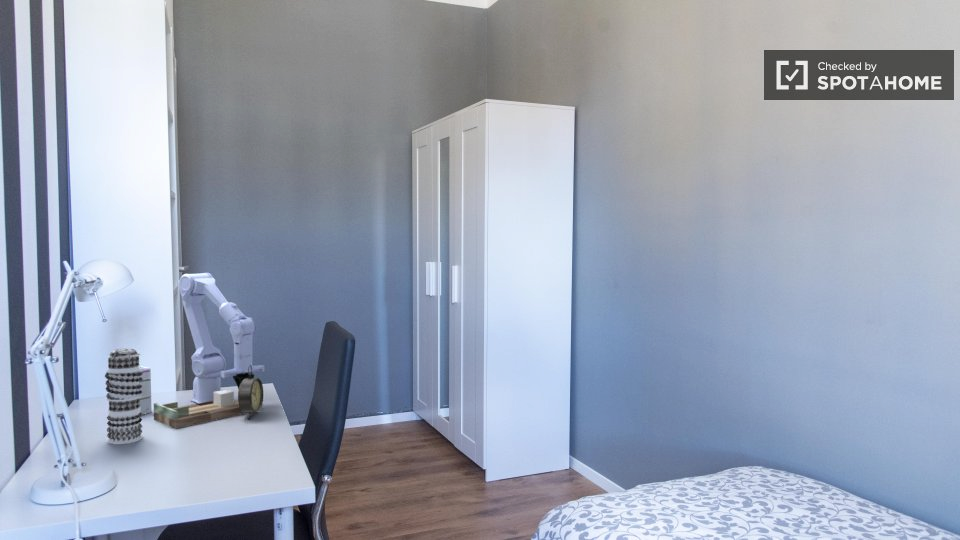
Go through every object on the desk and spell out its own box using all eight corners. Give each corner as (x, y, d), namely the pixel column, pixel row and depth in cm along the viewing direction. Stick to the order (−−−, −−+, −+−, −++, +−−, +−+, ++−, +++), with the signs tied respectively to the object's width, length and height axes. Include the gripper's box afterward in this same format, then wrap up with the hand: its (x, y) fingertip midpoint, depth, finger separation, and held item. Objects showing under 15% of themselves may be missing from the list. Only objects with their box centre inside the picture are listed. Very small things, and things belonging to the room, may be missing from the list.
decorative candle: (104, 446, 176) (102, 353, 175) (107, 436, 185) (106, 348, 183) (142, 442, 180) (141, 351, 179) (144, 433, 188) (143, 346, 187)
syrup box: (152, 412, 210) (151, 367, 209) (134, 416, 205) (133, 370, 204) (142, 409, 213) (141, 365, 212) (124, 413, 208) (123, 368, 207)
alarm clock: (252, 420, 202) (252, 368, 201) (234, 420, 202) (234, 368, 201) (264, 411, 213) (264, 361, 212) (248, 411, 213) (247, 361, 212)
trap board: (153, 419, 202) (153, 403, 202) (227, 404, 220) (227, 390, 220) (175, 428, 193) (175, 411, 193) (249, 412, 211) (249, 397, 211)
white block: (213, 404, 212) (213, 392, 212) (226, 401, 215) (226, 389, 215) (220, 406, 209) (220, 394, 209) (233, 404, 212) (233, 391, 212)
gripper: (229, 359, 208) (229, 402, 209) (269, 353, 219) (269, 394, 220) (217, 356, 213) (217, 398, 214) (258, 351, 224) (258, 390, 225)
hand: (243, 396), depth 217 cm, fingers closed
